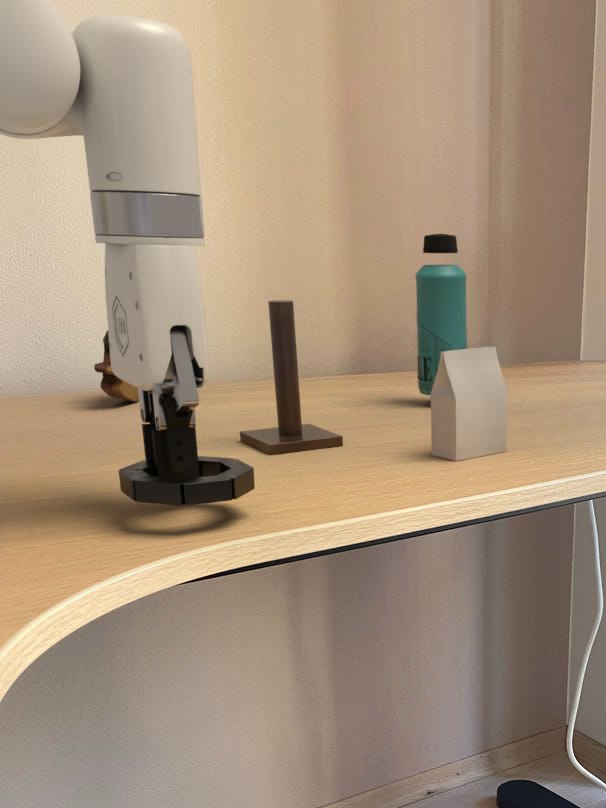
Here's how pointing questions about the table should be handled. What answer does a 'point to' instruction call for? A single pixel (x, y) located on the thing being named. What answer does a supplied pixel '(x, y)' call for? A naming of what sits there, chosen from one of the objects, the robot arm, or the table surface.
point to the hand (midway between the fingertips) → (173, 475)
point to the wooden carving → (114, 378)
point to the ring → (188, 482)
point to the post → (287, 394)
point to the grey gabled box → (468, 405)
